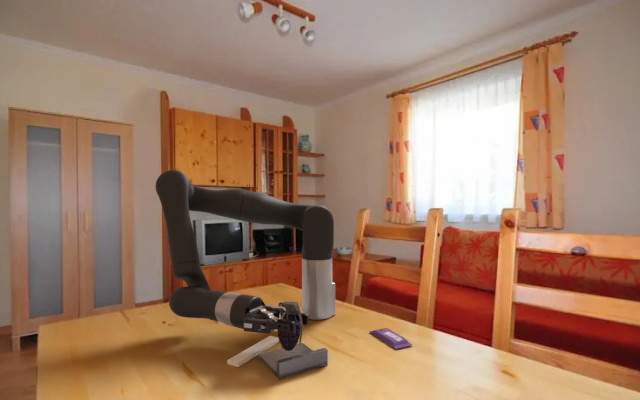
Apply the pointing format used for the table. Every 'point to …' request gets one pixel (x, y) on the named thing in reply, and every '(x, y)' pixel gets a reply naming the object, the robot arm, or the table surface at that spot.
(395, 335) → the snack package
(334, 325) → the table surface
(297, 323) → the hand grenade
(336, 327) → the table surface
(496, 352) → the table surface
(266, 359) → the plate
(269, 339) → the door edge strip
